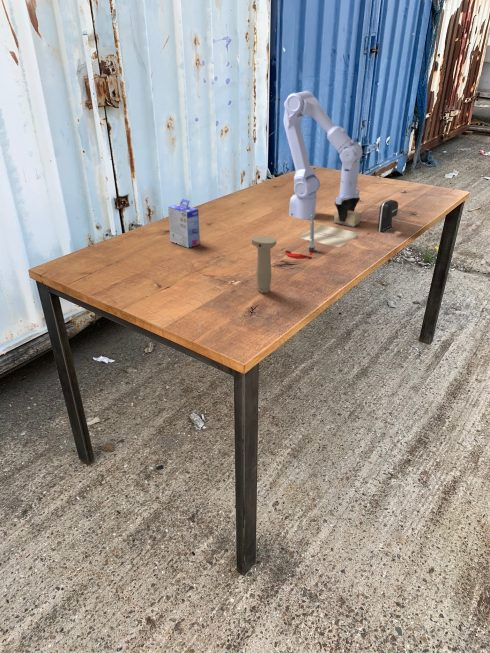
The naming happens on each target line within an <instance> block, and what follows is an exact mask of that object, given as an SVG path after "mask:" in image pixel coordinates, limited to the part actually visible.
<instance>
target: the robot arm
mask: <svg viewBox="0 0 490 653" xmlns="http://www.w3.org/2000/svg"><path fill="white" fill-rule="evenodd" d="M283 106H284V113H283V118H282V119H283V127H284V131H285V133H286V134H285V135H286V138H287V142H288V146H289V150H290V154H291V159H292V163H293V165H294V169H295V170H294V171H295V174H294V177H293V182H294V183H293V184H294V185H293V192H294V194H293V195H292V196H291V197H290V200H289V205H288V206H289V210H288V215H289V217H292V218H295V219H299V220H308V221H309V220H311V215H313V219H315V218H316V211H317V210H316V209H317V208H316V207H317V192H318V191H319V190H320V187H321V182H320V179H319V177H318V176H317V174H316V171H315V170H314V169H313V168H312V167H311V165H310V160H309V156H308V152H307V148H306V145H305V139H304V136H303V130H302V127H301V122H302V120H303V118H304V116H309V117H312V118H313V119H314V121H315V122H316V123H317V124H318V125H319V126H320V127H321V128H322V129H323V130H324V131H325V133H326V139H327V141H329V143H330V144H331V145H332V146H333V148H334V149H335V150H336V152H337V153H338V154H339V160H340V161H341V170H340V172H341V173H340V184H339V193H338V195H337V196H336V198H335V201H334V206H335V207H336V211H337V210H338V215H339V220H340V221H343V222H345V221H346V218H347V213H348V210H350V211H355V209H356V206H357V204H358V203H359V202H360V200H361V198H360V189H359V188H358V179H359V178H358V177H359V168H360V159H361V158H362V156H363V152H364V151H363V148H362V146H361V144H359V143H358V142H357V143H356V142H355V140H353V139H352V138H350V136H349V135H348V134H347V132H346V131H347V130H346V128H344V127H342V126H340V125H339V126H337V125H335V123H334V122H333V121H332V120H331V118H330V116H328V114H327V113H326V111H325V110H324V109H323V107H322V106H321V105H320V103H319V101H318V98H317V97H316V96H314V95H313V93H312V92H311V91H309V90H304V91H300V92H293V93H290V94H288V96H287V98H286V99H285V101H284V102H283Z"/></svg>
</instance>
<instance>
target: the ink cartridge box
mask: <svg viewBox="0 0 490 653" xmlns="http://www.w3.org/2000/svg"><path fill="white" fill-rule="evenodd" d="M184 203H185V204H184ZM189 204H190V200H188V199H184V198H182V199H181V201H180V203H179V204H174V205H171V206H168V207H167V210H168V211H167V212H168V224H169V226H168V227H169V240H170V241H169V242H171V243H174V244H176V243H177V245H179V246H182V247H186V248H187V249H189V247H190V248H192V246H193V247H195V245H196V246H199V245H200V244H201V239H200V236H201V235H200V221H199V220H200V219H199V218H200V217H199V216H200V215H199V209H198V208H196V207H193V206H192V207H191V206H189ZM198 244H199V245H198Z"/></svg>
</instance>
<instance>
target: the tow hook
mask: <svg viewBox="0 0 490 653" xmlns="http://www.w3.org/2000/svg"><path fill="white" fill-rule="evenodd" d="M309 226H310V228H309V230H310V241H309V248H308V252H309V254H308V255H309V256H308V255H305V254H301V253H299V254H297V253H292V251H289V250H285V255H286V256H287V257H289V258H293V259H304V258H308V259H312V258H313V257H312V256H313V253H315V251H316V244H315V243H316V242H315V239H314V228H315V222H314V218H313V215H311V219H310V223H309Z"/></svg>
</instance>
